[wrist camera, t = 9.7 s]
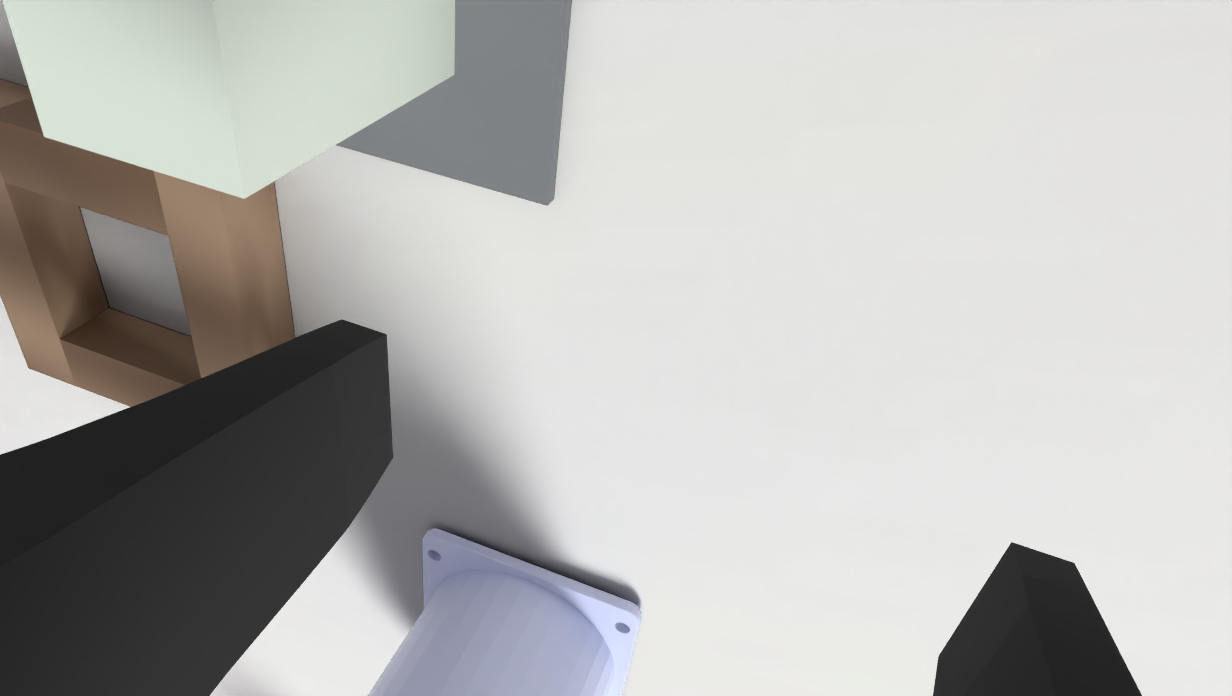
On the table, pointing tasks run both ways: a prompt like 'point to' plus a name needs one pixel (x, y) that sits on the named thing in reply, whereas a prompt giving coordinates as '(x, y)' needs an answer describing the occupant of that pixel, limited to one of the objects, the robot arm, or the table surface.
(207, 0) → the part block
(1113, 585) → the table surface
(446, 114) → the mat
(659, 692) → the table surface
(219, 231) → the frame
